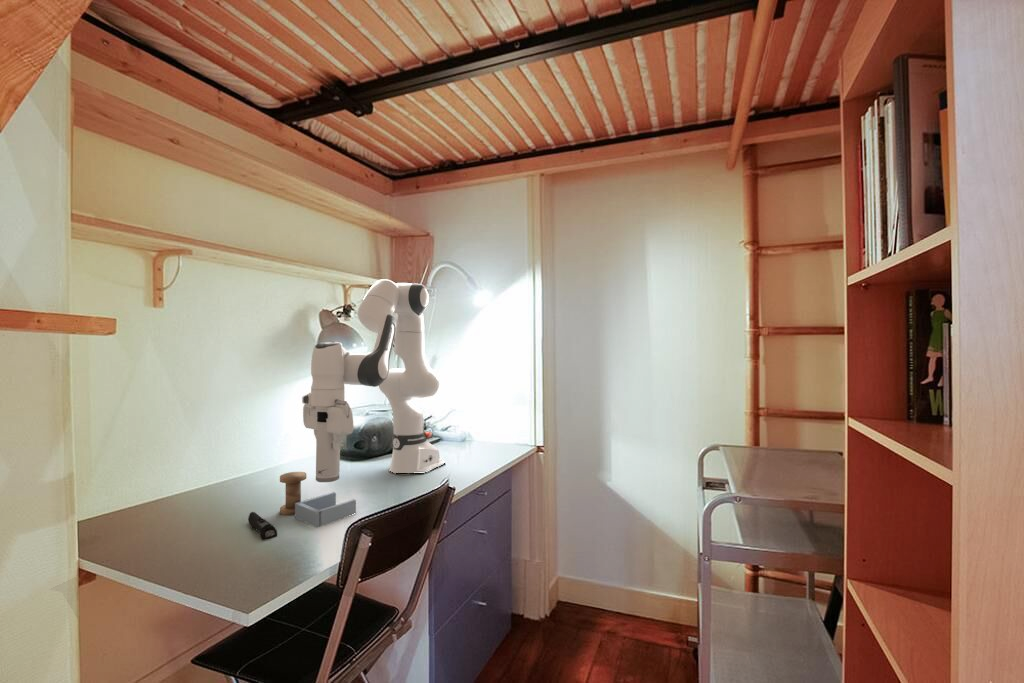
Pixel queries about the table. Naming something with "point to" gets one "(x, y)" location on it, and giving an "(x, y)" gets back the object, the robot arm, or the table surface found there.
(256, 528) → the electric trimmer
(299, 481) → the bobbin
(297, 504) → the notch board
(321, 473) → the travel mug
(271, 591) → the table surface
